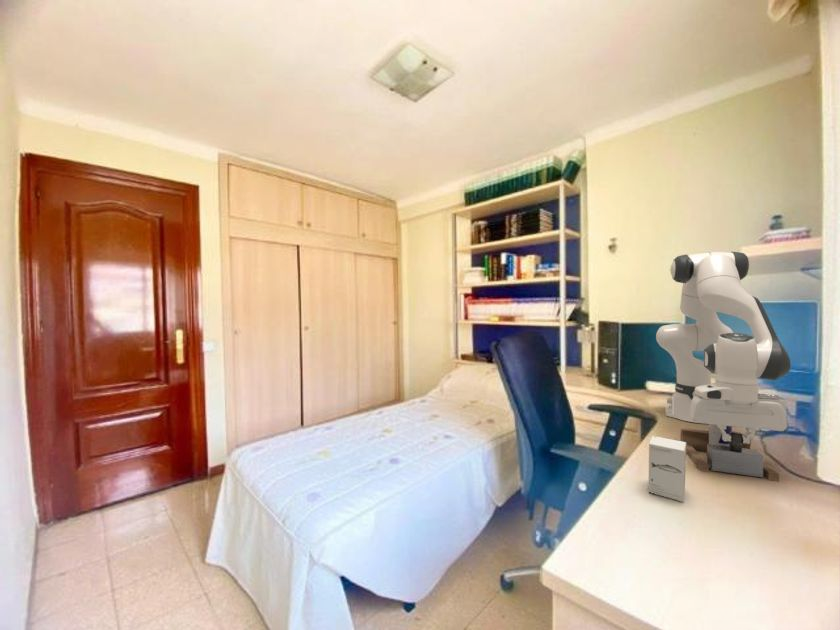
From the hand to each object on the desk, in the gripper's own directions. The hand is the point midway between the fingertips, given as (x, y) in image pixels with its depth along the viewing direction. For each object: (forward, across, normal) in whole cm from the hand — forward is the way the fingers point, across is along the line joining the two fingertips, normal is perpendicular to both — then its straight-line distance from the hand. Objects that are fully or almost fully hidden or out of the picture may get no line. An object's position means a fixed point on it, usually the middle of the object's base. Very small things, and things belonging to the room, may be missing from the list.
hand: (735, 442), depth 97 cm
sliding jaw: (+9, 0, -1) cm, 9 cm away
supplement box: (+9, +20, +18) cm, 29 cm away
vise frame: (+9, 0, -8) cm, 12 cm away
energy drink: (+9, 0, -11) cm, 14 cm away
